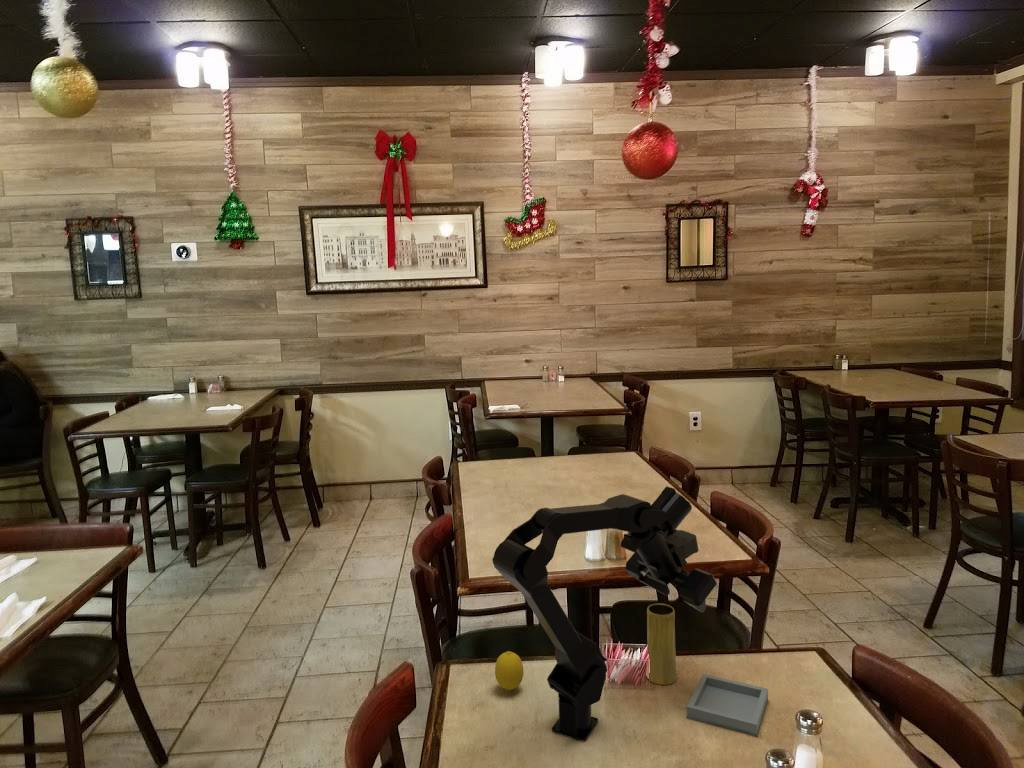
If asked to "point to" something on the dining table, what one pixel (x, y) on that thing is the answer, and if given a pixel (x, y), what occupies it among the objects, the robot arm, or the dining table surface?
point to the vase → (661, 643)
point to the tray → (728, 704)
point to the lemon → (509, 670)
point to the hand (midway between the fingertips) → (685, 602)
